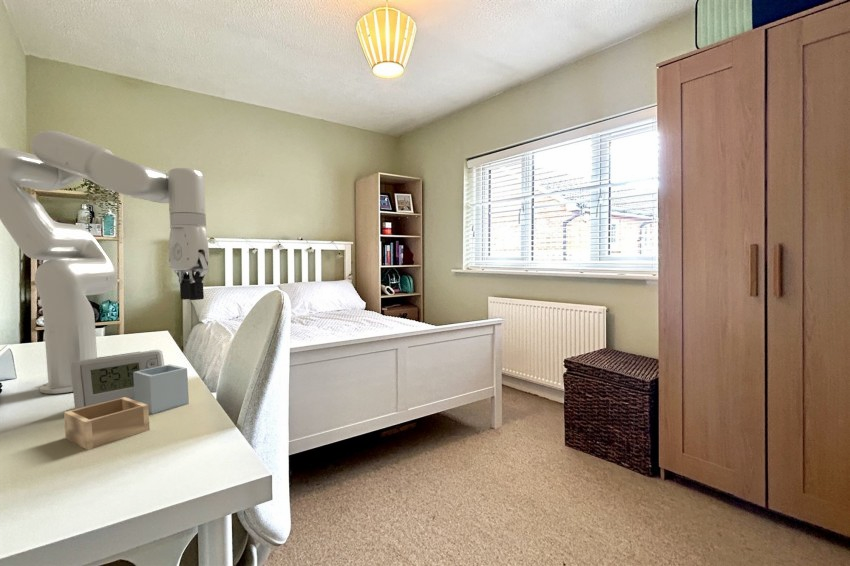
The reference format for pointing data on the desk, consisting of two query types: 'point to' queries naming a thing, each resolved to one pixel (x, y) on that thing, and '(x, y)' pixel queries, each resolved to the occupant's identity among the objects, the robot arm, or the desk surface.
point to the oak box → (106, 422)
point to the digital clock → (110, 376)
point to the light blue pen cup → (161, 387)
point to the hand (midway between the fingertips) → (192, 298)
